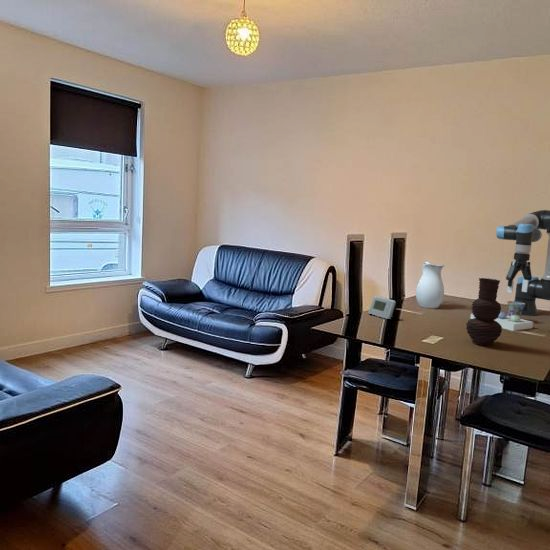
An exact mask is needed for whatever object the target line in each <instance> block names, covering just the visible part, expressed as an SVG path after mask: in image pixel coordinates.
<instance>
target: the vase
mask: <svg viewBox="0 0 550 550" xmlns="http://www.w3.org/2000/svg"><path fill="white" fill-rule="evenodd" d="M478 281H479V282H478V283H479V285H478V286H479V287H478V295H477V296H478V298H477V299H474V300H473V301H472V303H471V314H473V315H474V317H475V318H474V319H470V318H469V320H467V322H466V323H465V324H466V325H465V326H466V327H465V329H466V333H467V334H468V336H469V337H470V339H471V342H472V343H473V344H474V343H476V344H475V345H478V344H480V345H479V346H483V345H490V346H492V344H493V343H494V342H495V341H497V340H498V338H499V337H501V334H502V331H503V328H502V326H501V325H500V324H499V323H498V322H497V321H495V319H497V318H498V317H499V315H500V312H502V307H501V304H500V302H498V301H497V297H498V290H499V289H500V288H499V287H500V286H499V285H500V282H501V280H498V279H496V278H495V279H494V278H490V277H487V278H485V277H482V278H481V277H478Z"/></svg>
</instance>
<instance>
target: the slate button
mask: <svg viewBox="0 0 550 550" xmlns="http://www.w3.org/2000/svg"><path fill="white" fill-rule="evenodd" d="M506 316H508V313H507V312H504V311H500V315H499V317H498V318H500V319H506Z"/></svg>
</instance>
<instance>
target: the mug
mask: <svg viewBox="0 0 550 550" xmlns="http://www.w3.org/2000/svg"><path fill="white" fill-rule="evenodd" d="M524 305H525V303H521V302H515V301H514V300H513V301H512V300H508V301H507V306H508V313H507V316H510V317H511V315H518V316H521V318H520V319H523V317H522V314H521V313H522V309H523V307H524Z"/></svg>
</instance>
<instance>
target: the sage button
mask: <svg viewBox="0 0 550 550" xmlns="http://www.w3.org/2000/svg"><path fill="white" fill-rule="evenodd" d="M521 317H522V315H521V316H518V315H511V318H510V321H512V322H516V323H518V322H520V318H521Z"/></svg>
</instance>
